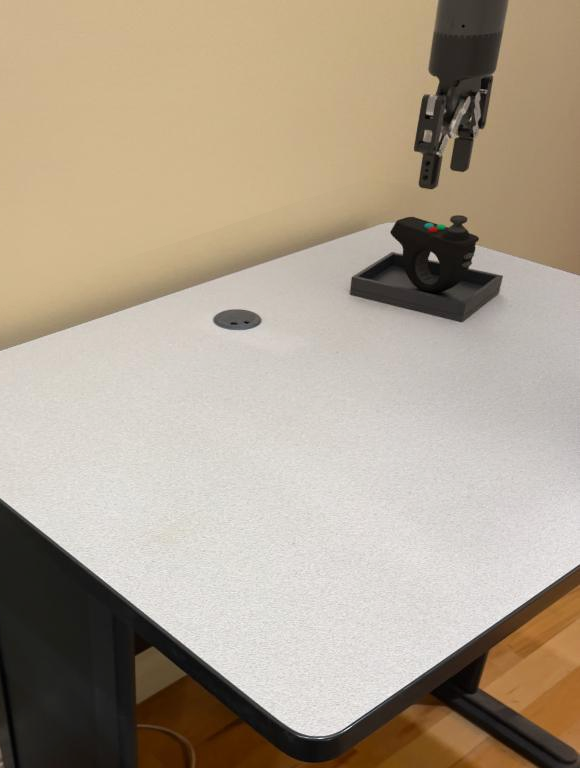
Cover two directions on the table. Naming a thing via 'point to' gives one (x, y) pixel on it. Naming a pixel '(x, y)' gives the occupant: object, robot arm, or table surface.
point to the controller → (435, 251)
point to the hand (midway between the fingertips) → (443, 179)
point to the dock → (396, 288)
